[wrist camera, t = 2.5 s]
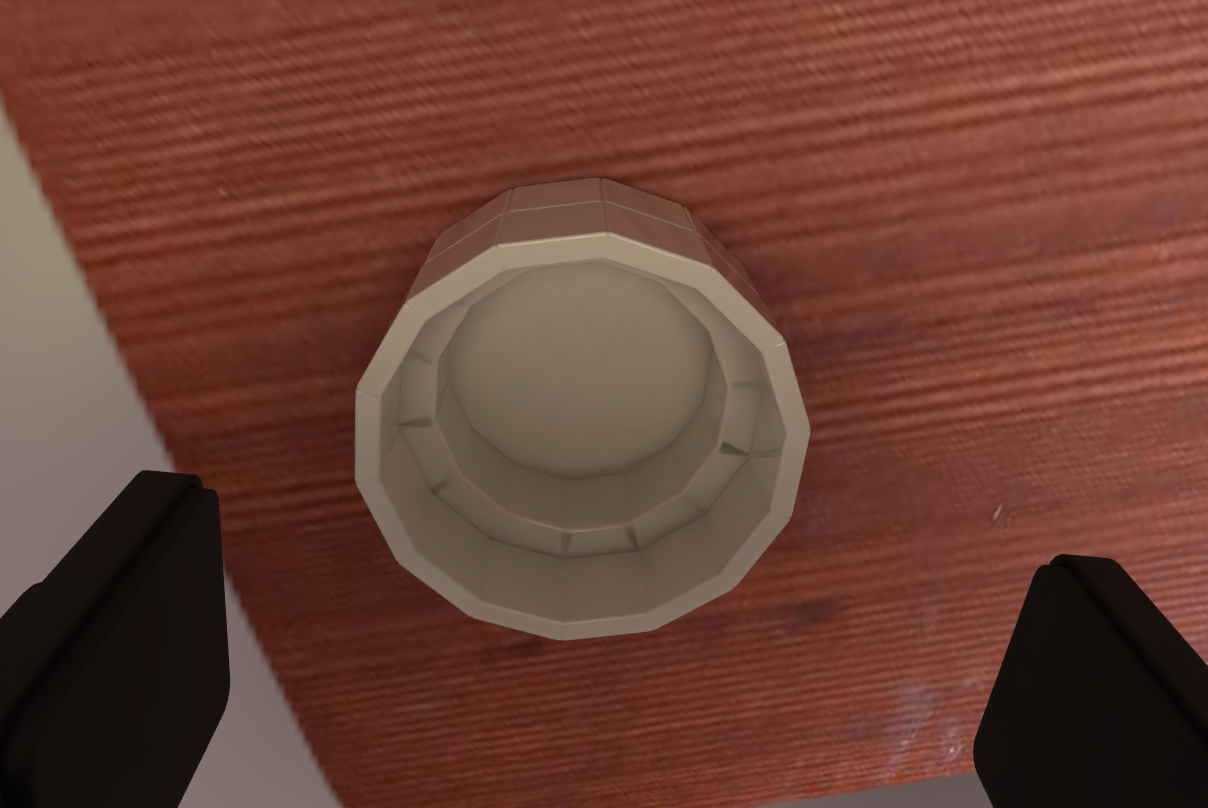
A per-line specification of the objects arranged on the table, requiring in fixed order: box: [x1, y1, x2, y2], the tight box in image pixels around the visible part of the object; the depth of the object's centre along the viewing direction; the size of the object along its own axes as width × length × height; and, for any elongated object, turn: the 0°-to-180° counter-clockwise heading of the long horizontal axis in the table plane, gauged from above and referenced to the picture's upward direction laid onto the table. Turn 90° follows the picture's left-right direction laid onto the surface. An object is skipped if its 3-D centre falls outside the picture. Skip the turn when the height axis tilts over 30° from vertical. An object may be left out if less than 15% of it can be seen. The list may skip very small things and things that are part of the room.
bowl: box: [355, 177, 811, 641], centre depth 17 cm, size 7×7×4 cm
